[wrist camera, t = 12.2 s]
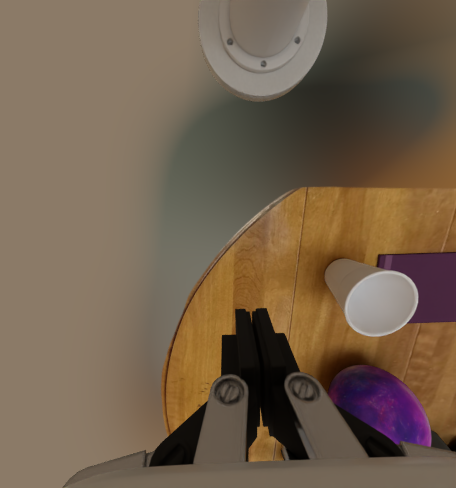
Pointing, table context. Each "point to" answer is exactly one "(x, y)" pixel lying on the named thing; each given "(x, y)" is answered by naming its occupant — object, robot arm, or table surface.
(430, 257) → the book
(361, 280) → the cup
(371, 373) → the decorative orb
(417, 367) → the table surface
